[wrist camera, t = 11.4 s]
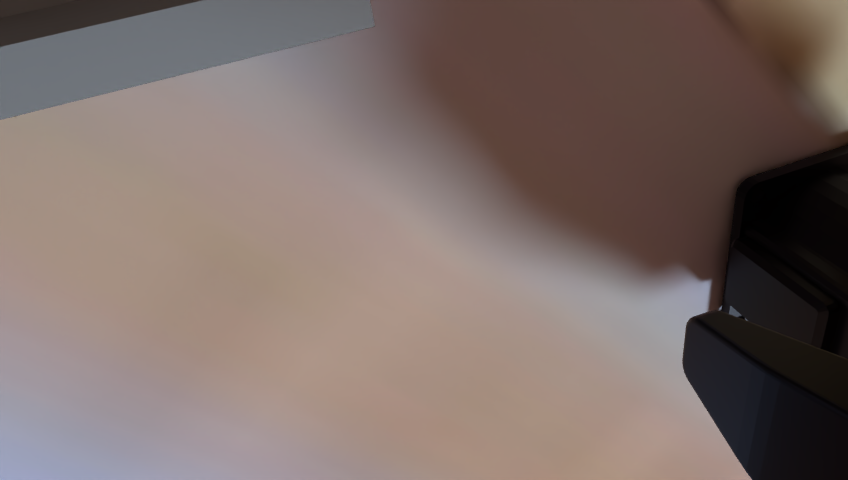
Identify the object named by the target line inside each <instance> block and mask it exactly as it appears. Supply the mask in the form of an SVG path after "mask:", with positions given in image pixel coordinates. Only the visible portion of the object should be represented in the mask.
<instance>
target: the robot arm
mask: <svg viewBox="0 0 848 480" xmlns="http://www.w3.org/2000/svg"><path fill="white" fill-rule="evenodd" d="M682 361H683V369H684V372H685V375H686V377H687V379H688V381H689V382H690V384H691V385H692V387H693V389H694V390H695V392H696V393H697V395H698V397H699V398H700V400H701V401H702V403H703V405H704V406H705V408H706V409H707V411H708V413H709V414H710V416H711V417H712V419H713V421H714V422H715V424H716V425H717V427H718V428H719V430H720V432H721V433H722V435H723V436H724V438H725V440H726V441H727V443H728V444H729V446H730V448H731V449H732V451H733V452H734V454H735V456H736V457H737V459H738V460H739V462H740V463H741V465H742V466H743V468H744V469H745V471H746V472H747V473H748V475H749V476H750V477H751V479H752V480H848V145H847V146H844V147H841V148H838V149H835V150H832V151H829V152H826V153H822V154H819V155H816V156H813V157H810V158H807V159H804V160H801V161H798V162H795V163H792V164H789V165H786V166H783V167H780V168H777V169H774V170H771V171H768V172H765V173H762V174H759V175H756V176H753V177H750V178H748V179H746V180H745V181H744V182H743V183H742V184H741V185H740V186H739V188H738V190H737V193H736V199H735V207H734V215H733V223H732V231H731V239H730V247H729V255H728V263H727V271H726V279H725V286H724V294H723V302H722V310H721V311H718V310H714V311H709V312H706V313H703V314H700V315H697V316H694V317H692V318H690V319H689V321H688V322H687V325H686V332H685V341H684V350H683V360H682Z"/></svg>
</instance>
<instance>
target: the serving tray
mask: <svg viewBox="0 0 848 480" xmlns="http://www.w3.org/2000/svg"><path fill="white" fill-rule="evenodd" d="M371 27H375V25H374V19H373V14H372V8H371V2H370V0H0V120H2V119H6V118H10V117H14V116H18V115H22V114H26V113H30V112H34V111H38V110H42V109H46V108H50V107H54V106H58V105H62V104H66V103H70V102H74V101H78V100H82V99H86V98H90V97H94V96H98V95H102V94H106V93H110V92H114V91H118V90H122V89H126V88H130V87H134V86H138V85H142V84H146V83H150V82H154V81H158V80H162V79H166V78H170V77H174V76H178V75H182V74H186V73H190V72H194V71H198V70H202V69H206V68H210V67H214V66H218V65H223V64H227V63H231V62H235V61H239V60H243V59H247V58H251V57H255V56H259V55H263V54H267V53H271V52H275V51H279V50H283V49H287V48H291V47H295V46H299V45H303V44H307V43H311V42H315V41H319V40H323V39H327V38H331V37H335V36H339V35H343V34H347V33H351V32H355V31H359V30H363V29H367V28H371Z"/></svg>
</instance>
